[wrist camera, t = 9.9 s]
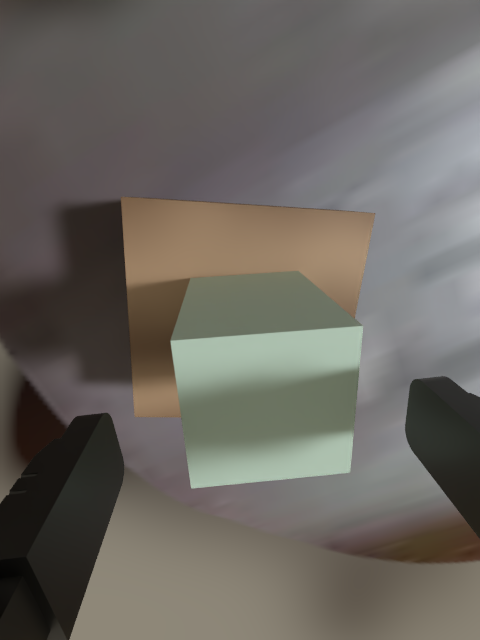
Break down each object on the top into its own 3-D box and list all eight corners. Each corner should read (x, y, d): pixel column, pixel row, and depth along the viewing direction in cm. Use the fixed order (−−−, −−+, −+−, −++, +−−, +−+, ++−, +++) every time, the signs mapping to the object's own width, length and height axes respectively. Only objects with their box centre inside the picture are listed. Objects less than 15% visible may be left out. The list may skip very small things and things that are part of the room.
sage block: (190, 278, 15) (170, 340, 8) (298, 270, 15) (362, 325, 8) (200, 373, 16) (191, 488, 10) (297, 365, 17) (350, 472, 10)
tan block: (145, 197, 18) (120, 196, 13) (336, 210, 19) (375, 213, 14) (152, 370, 22) (134, 416, 17) (310, 373, 23) (334, 419, 18)
